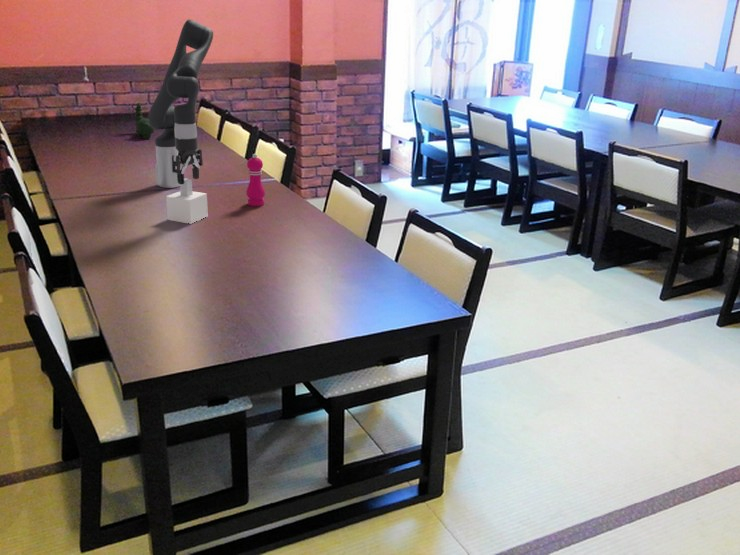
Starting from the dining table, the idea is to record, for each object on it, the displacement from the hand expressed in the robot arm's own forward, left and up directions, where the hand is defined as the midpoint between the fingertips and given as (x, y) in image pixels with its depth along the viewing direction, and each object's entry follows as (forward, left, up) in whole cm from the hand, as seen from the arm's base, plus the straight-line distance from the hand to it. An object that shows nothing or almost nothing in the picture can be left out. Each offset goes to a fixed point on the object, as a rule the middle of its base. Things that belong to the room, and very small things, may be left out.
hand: (188, 181), depth 243 cm
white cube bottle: (-1, 0, -14) cm, 14 cm away
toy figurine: (-114, +112, -14) cm, 160 cm away
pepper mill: (+10, +28, -14) cm, 33 cm away
